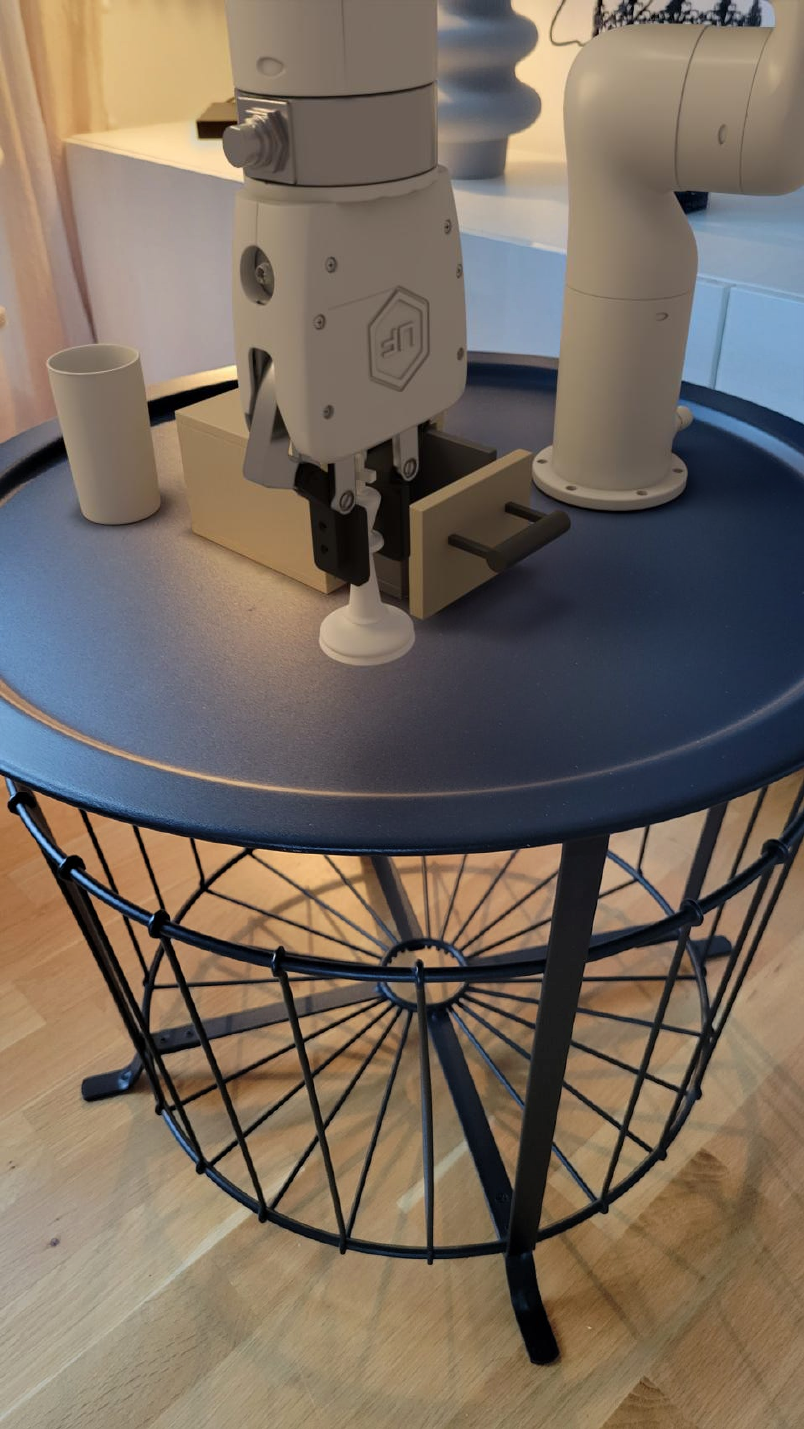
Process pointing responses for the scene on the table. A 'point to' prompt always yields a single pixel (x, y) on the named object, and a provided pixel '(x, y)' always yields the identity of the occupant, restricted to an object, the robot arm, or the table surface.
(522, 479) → the drawer
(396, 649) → the chess piece
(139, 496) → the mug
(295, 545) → the cabinet
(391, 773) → the table surface
